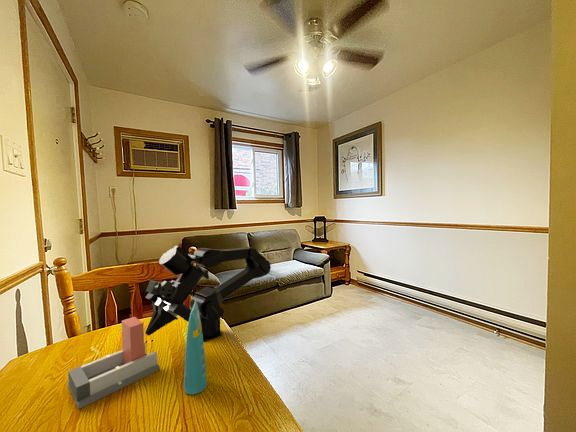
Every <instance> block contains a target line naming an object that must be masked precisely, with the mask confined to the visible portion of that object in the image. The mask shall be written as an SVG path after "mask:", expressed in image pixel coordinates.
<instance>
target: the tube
mask: <svg viewBox="0 0 576 432" xmlns="http://www.w3.org/2000/svg"><path fill="white" fill-rule="evenodd" d="M187 324H188V325H187V331H186V338H185V339H186V341H185V355H184V356H185V357H184V378H183V383H184V385H183V390H184V392H185V394H187V395H191V396H192V395H196V394H199V393H201V392H203V391H204V390H205V389H206V387H207V386H208V384H207V383H208V381H207V379H208V378H207V368H206V367H207V366H206V354H205V353H206V352H205V343H204V342H205V341H203V334H202V326H201V320H200V315H199V310H198V305H197V301H196V300H195V303H194V305H193V308H192V311H191V314H190V317H189V322H187Z"/></svg>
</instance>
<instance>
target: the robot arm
mask: <svg viewBox="0 0 576 432" xmlns="http://www.w3.org/2000/svg"><path fill="white" fill-rule="evenodd" d="M238 260H245V261H244V262H245V264H246V266H245V268H243V270H241V271H240V272H238V273H236V274H235V275H233V276H232V277H230V278H229V279H227V280H226V281H224V282H223V283H220V284H219V285H218V286H216V287H215V288H212V287H209V286H205V287H203V288H202V289H201V290H198V291H195V293H194V292H193V291H194V289H195V288H196V286H197V285H198V283H199V282H200V281H201V280H202V279H206V280H209V279H210V276H209V270H208V269H203V268H201V267H204V268H210V269H211V268H214V267H217V266H219V265H221V264H223V263H225V262H230V261H238ZM192 263H193V264H195V265H193V264H192ZM158 264H159V265H161V266H162V267H163V268H164V269H166V270H167V271H168V272H170V273H171V274H173V276H178V275H179V276H178V277H177V278H176V279H175V280H173V279H172V280H170V281H167V280H163V281H162V282H161V281H156V280H153V279H152V280H151V279H150V280H149V282H148V285H147V287H146V290H145V292H147V294H146V296H145V298H146V299H148V300H149V301H150V302H152V303H151V305H152V309H153V312H152V316H151V317H150V320H149V322H148V325H147V327H146V330H145V332H144V333H145V334H144V335H147V336H148V337H149V336H151V335H152V334H154V333H156V332H157V331H159V330H160V329H162V328H163V327H165V326H168V324H170V323H172V322H174V321H177V320H178V319H179V318H178V316H179V317H180V318H182V319H183V320H185V322H187V323H189V317H190V314H191V311H192V308H193V305H194V303H195V300H196V301H197V305H198V310H199V315H200V320H201V326H202V334H203V342H206V341H209V340H212V339H215V338H218V337H221V336H223V333H222V332H221V318H223V317H224V313H225V310H224V309H223V308H222V307H221V306H222V303H223V301H224V300H225V299H227V298H228V297H229V296H230V295H232V294H233V293H235V292H237V290H238V291H239V289H241V288H242V287H244V286H245V285H246V284H248V283H249V282H251V281H252V280H254V279H259V278H262V277H265V276H267V275H268V274H269V273H270V272H271V267H272V266H271V262H270V261H269V260H268V259H267V258H266V257H264V255H262V254H261V253H259V251H258V250H257V249H256V248H255V247H252V246H245V247H239V248H238V247H237V248H236V247H235V248H226V249H214V248H206V247H199V248H196V250H195V251H194V252H191V253H187V252H186V251H184V249H183V248H182V246H179V245H174V246H173V248H170V249H169V250H167V251H166V252H164V253H163V254H162V255H161V257H160V258H159V260H158ZM189 296H190V297H191V298H190V302H189V307H190V308H189V307H188V306H187V305H186V304H184V302H185V301H186V300H187V299H188V297H189Z"/></svg>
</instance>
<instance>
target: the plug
mask: <svg viewBox="0 0 576 432" xmlns="http://www.w3.org/2000/svg"><path fill="white" fill-rule="evenodd" d="M144 326H145V325H144V322H143V321H141V320H140V319H139V318H137V317H136V316H132V317H129V318H126V319H123V320H121V336H122V337H121V341H122V342H121V343H122V350H123V363H124V364H127V363H129V362H131V361H134V360H136V359H138V358H141V357H143V356H144V342H145V334H144V333H145V332H144V329H145V328H144Z"/></svg>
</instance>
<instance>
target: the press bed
mask: <svg viewBox="0 0 576 432" xmlns="http://www.w3.org/2000/svg"><path fill="white" fill-rule="evenodd" d="M146 351H147V350H146V342H145V341H144V356H143V357H141V358H138V359H136V360H134V361H131V362H129V363H127V364H124V363H123V349H121V350H119V351H116V352H114V353H111V354H105V356H103V357H100V358H98V359H96V360H93V361H91V362H88V363H85V364H83V365H80V366H77V367H74V368H72V369H70V370H68V371H67V372H68V381H67V386H68V389H69V391H70V393H71V396H72V398H73V400H74V402H75V405H76V408H77V409H78V410H80V409H82V408H84V407H86V406H89V405H90V404H92V403H94V402H97V401H99V400H100V399H103V398H105V397H106V396H109V395H111V394H114V393H115V392H117V391H118V390H121V389H123V388H125V387H127V386H130V385H132V384H133V383H135V382H138V381H139V380H141V379H143V378H145V377H148V376H150V375H151V374H154V373H156V372H158V371H160V365H159V364H158V352H157V351H156V350H155V351H153V352H150V353H148V354H147V353H146Z"/></svg>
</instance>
